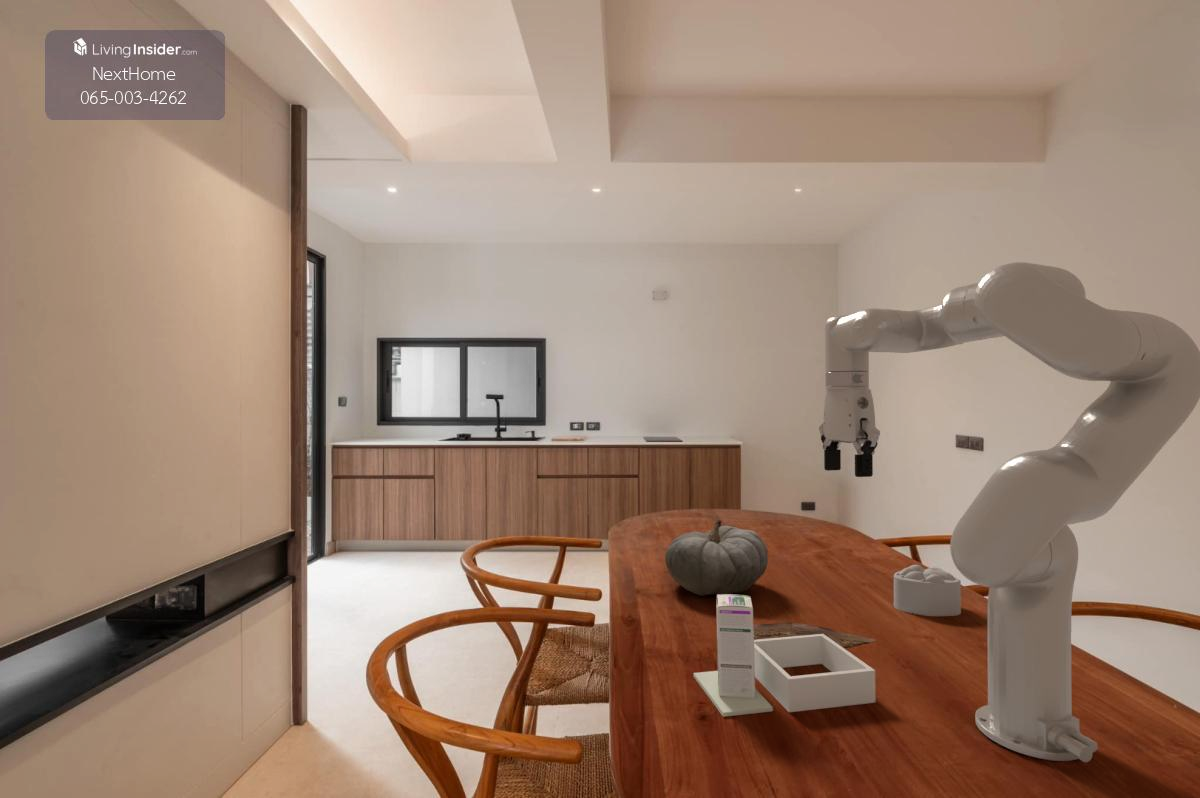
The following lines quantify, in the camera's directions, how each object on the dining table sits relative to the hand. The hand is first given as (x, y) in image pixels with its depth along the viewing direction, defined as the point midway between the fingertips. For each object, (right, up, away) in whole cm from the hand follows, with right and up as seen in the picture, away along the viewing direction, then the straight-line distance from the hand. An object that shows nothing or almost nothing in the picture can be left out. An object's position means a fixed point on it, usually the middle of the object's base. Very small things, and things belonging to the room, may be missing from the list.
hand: (847, 473), depth 111 cm
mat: (-25, -34, -15) cm, 45 cm away
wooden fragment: (-5, -34, +7) cm, 35 cm away
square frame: (-12, -33, -13) cm, 38 cm away
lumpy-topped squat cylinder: (+27, -33, +22) cm, 48 cm away
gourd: (-18, -34, +36) cm, 53 cm away
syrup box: (-25, -33, -16) cm, 44 cm away
